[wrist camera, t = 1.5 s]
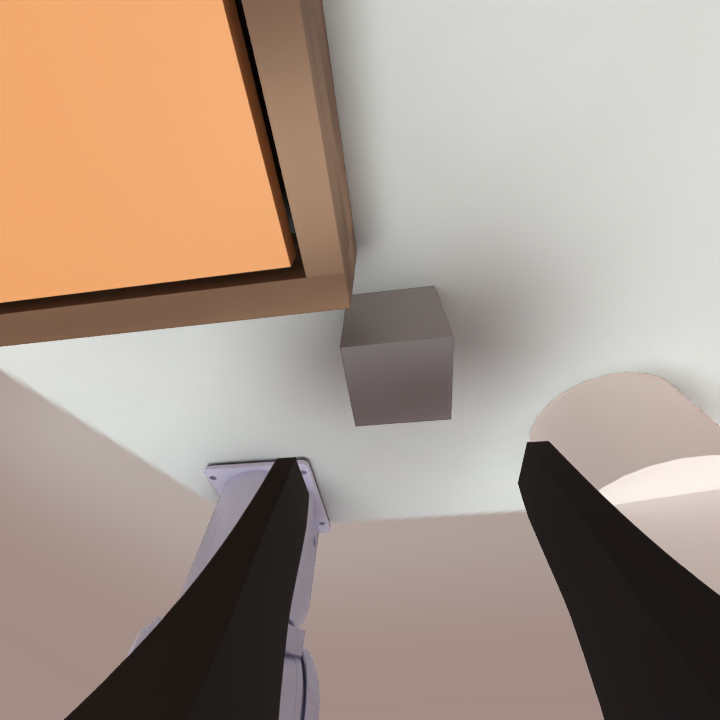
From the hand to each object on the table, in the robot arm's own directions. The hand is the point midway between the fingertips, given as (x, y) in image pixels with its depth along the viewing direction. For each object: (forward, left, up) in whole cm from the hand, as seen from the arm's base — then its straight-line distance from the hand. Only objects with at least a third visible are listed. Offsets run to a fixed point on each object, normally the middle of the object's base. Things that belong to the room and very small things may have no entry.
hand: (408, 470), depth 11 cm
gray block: (0, 0, -9) cm, 9 cm away
